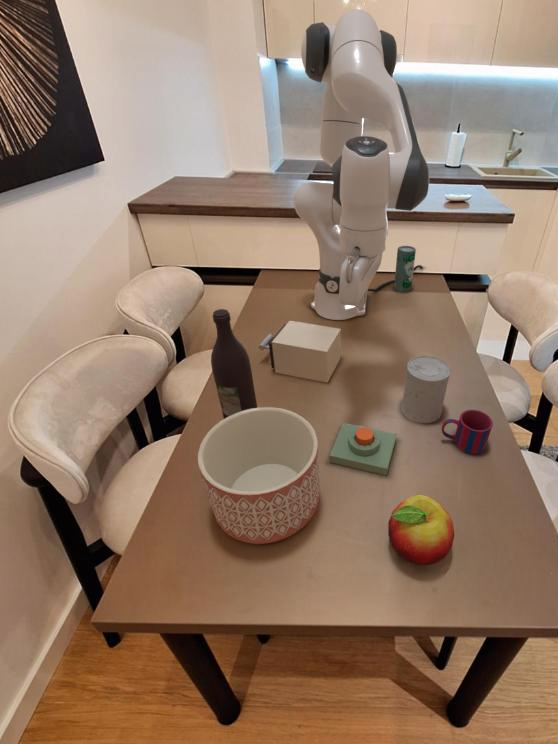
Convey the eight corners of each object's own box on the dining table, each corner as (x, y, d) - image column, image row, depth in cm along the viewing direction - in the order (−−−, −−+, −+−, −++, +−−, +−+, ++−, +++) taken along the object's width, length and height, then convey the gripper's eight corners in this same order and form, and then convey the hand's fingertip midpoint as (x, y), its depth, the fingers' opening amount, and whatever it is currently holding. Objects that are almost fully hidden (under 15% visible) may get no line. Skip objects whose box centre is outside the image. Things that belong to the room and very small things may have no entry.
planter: (330, 533, 69) (330, 478, 60) (216, 562, 65) (196, 507, 56) (308, 452, 84) (305, 399, 75) (213, 472, 79) (197, 417, 70)
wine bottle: (226, 429, 89) (197, 307, 70) (257, 421, 91) (237, 300, 73) (231, 451, 84) (202, 325, 65) (265, 442, 86) (245, 318, 67)
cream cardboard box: (275, 372, 106) (271, 342, 100) (291, 350, 115) (289, 320, 109) (327, 382, 103) (327, 351, 97) (340, 358, 112) (340, 328, 106)
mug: (486, 456, 84) (494, 433, 80) (438, 449, 86) (443, 426, 81) (484, 434, 89) (491, 412, 85) (439, 427, 91) (444, 405, 87)
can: (408, 293, 146) (413, 252, 137) (392, 290, 148) (396, 250, 138) (412, 287, 150) (417, 247, 141) (396, 284, 152) (400, 244, 143)
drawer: (256, 365, 107) (253, 340, 102) (273, 345, 115) (270, 321, 110) (319, 377, 103) (319, 352, 98) (332, 355, 111) (331, 331, 106)
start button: (358, 431, 84) (358, 425, 83) (374, 435, 83) (375, 429, 82) (353, 443, 81) (353, 437, 80) (370, 447, 81) (371, 441, 79)
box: (343, 429, 90) (343, 416, 87) (395, 441, 87) (397, 427, 85) (329, 462, 82) (329, 449, 79) (386, 475, 80) (388, 462, 77)
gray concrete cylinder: (417, 391, 101) (424, 351, 93) (449, 410, 96) (459, 368, 88) (393, 408, 95) (398, 367, 88) (425, 429, 90) (433, 386, 83)
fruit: (457, 573, 64) (469, 539, 58) (390, 578, 63) (396, 544, 57) (440, 515, 73) (449, 480, 66) (381, 518, 72) (385, 483, 66)
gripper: (365, 262, 67) (362, 332, 76) (389, 224, 82) (385, 286, 91) (330, 257, 68) (331, 327, 77) (360, 221, 83) (358, 282, 92)
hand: (360, 304), depth 84 cm, fingers closed
